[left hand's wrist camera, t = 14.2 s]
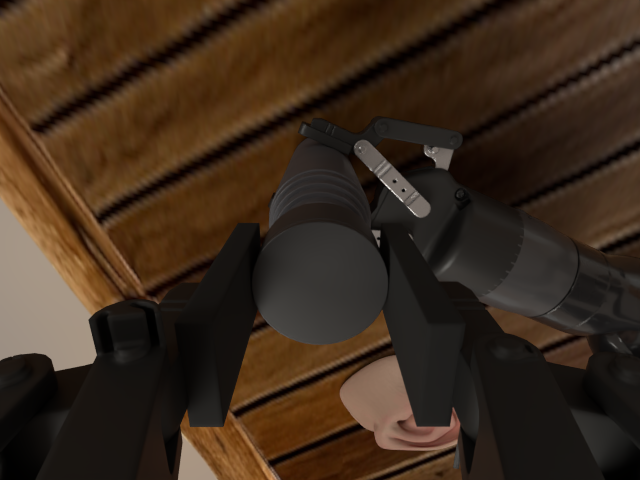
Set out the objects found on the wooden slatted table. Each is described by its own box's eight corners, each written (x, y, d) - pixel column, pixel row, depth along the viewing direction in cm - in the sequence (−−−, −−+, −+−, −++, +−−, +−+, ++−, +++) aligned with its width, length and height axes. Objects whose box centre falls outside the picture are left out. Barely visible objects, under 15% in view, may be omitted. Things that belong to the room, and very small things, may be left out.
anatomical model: (325, 435, 39) (393, 356, 36) (324, 405, 43) (386, 331, 40) (427, 486, 42) (500, 416, 38) (418, 454, 46) (484, 388, 42)
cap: (402, 247, 14) (417, 274, 12) (331, 328, 15) (333, 366, 13) (307, 177, 13) (303, 193, 11) (239, 269, 14) (225, 299, 12)
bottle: (306, 200, 35) (285, 362, 14) (282, 149, 33) (216, 244, 12) (356, 178, 34) (416, 312, 13) (334, 125, 33) (361, 181, 11)
